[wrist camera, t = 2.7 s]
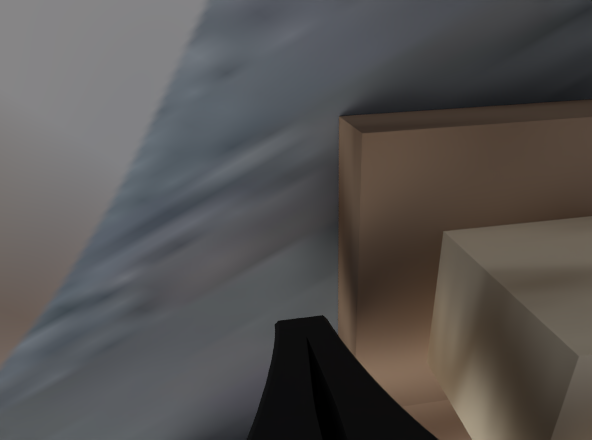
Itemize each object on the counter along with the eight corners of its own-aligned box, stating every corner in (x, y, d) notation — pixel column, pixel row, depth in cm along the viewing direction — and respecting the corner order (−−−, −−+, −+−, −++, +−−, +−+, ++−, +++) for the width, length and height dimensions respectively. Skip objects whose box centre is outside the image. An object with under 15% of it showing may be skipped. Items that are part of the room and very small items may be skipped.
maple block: (561, 343, 14) (715, 487, 9) (426, 362, 13) (521, 524, 9) (600, 215, 12) (823, 321, 7) (443, 231, 11) (579, 356, 7)
